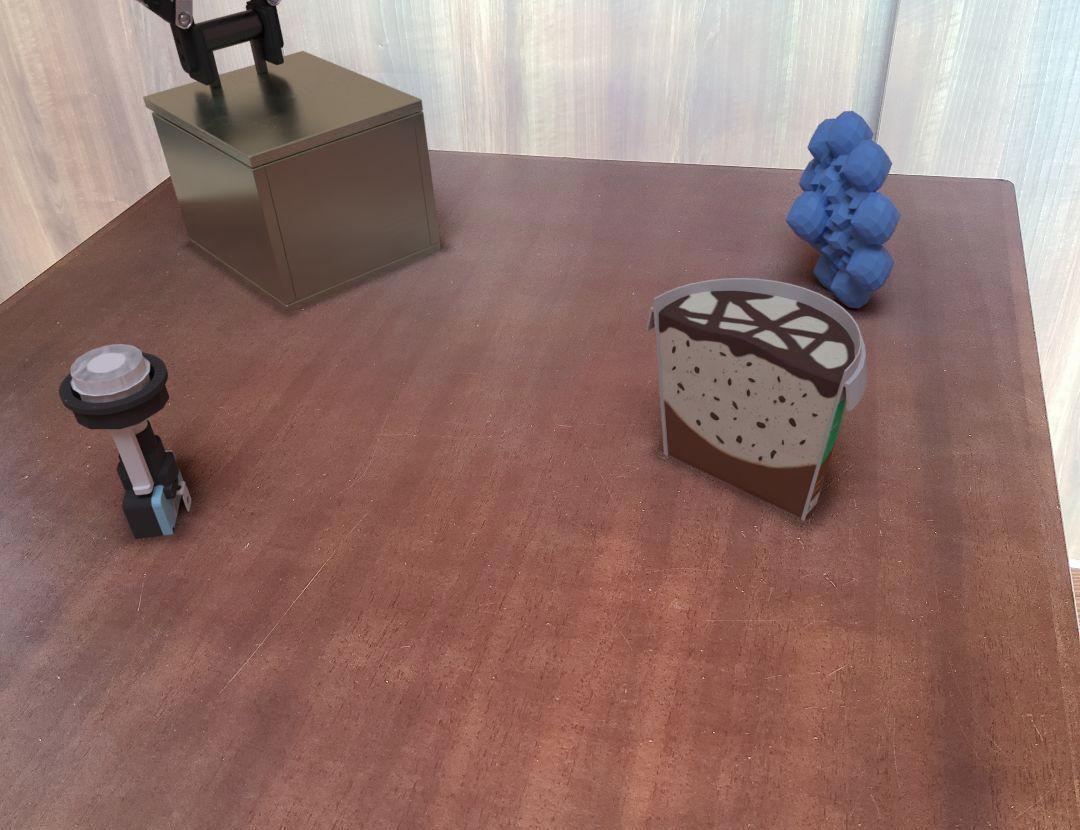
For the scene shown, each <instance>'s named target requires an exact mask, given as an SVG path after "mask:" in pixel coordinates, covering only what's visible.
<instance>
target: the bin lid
mask: <svg viewBox="0 0 1080 830" xmlns="http://www.w3.org/2000/svg"><path fill="white" fill-rule="evenodd" d="M195 25H198V26H200V27H201V28H202V29H203V32H204V36H205V40H206V44H207V48H208V52H209V56H210V60H211V64H212V68H213V72H214V76H215V81H214V83H213V84H211V85H207V86H206V85H204V84H202V83H200V82H198V81H196V80H195V81H193V82H190V83H186V84H182V85H179V86H175V87H172V88H168V89H165V90H161V91H158V92H154V93H151V94H148V95H144V96H143V97H142V99H143V102H144V107H145V108H146V109H149V110H150V111H151V112H155V113H157V114H159V115H161V116H162V117H164V118H166V119H168V120H169V121H171V122H173V123H174V124H176V125H178V126H180V127H181V128H183V129H185V130H187V131H188V132H190V133H192V134H194V135H195V136H197V137H199V138H201V139H202V140H204V141H206V142H208V143H209V144H211V145H213V146H215V147H216V148H218V149H220V150H222V151H223V152H225V153H227V154H229V155H230V156H232V157H234V158H236V159H237V160H239V161H241V162H243V163H244V164H246V165H248V166H249V167H251V168H254V167H257V166H260V165H263V164H266V163H269V162H272V161H275V160H278V159H281V158H284V157H286V156H289V155H292V154H295V153H298V152H301V151H304V150H307V149H310V148H313V147H316V146H319V145H322V144H325V143H328V142H331V141H334V140H337V139H340V138H343V137H346V136H349V135H352V134H354V133H357V132H360V131H363V130H366V129H369V128H372V127H375V126H378V125H381V124H384V123H387V122H390V121H393V120H396V119H399V118H402V117H405V116H408V115H411V114H414V113H417V112H420V111H423V110H424V108H423V107H424V105H423V100H422V98H419V97H417V96H415V95H412V94H409V93H407V92H405V91H402V90H400V89H398V88H395V87H392V86H390V85H388V84H385V83H382V82H380V81H377V80H375V79H373V78H370V77H368V76H365V75H363V74H361V73H358V72H357V71H356V72H355V71H353V70H351V69H349V68H346V67H344V66H341V65H338V64H336V63H333V62H331V61H329V60H326V59H324V58H322V57H320V56H317V55H314V54H311V53H310V52H307V51H304V50H301V51H297V52H293V53H291V54H287V55H283V59H284V63H283V64H280V65H275V64H272V63H270V62H267V61H266V59H265V55H264V50H263V46H262V41H261V38H262V37H263V36H264V34H265V29H264V24H263V21H262V18H261V16H260V14H259V13H258V12H257V10H255V9H250V10H246V9H245V10H243V11H238V12H235V13H231V14H227V15H224V16H220V17H219V16H218V17H215V18H211V19H208V20H204V21H199V22H196V23H195ZM244 43H249V45H250V49H251V53H252V54H251V55H252V58H253V62H254V64H251V65H248V66H245V67H241V68H237V69H235V70H231V71H228V72H224V73H221V74H219V70H218V66H217V62H216V58H215V54H214V52H215V51H216V52H217V51H219V50H222V49H226V48H230V47H234V46H237V45H242V44H244Z"/></svg>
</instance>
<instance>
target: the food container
mask: <svg viewBox="0 0 1080 830" xmlns="http://www.w3.org/2000/svg"><path fill="white" fill-rule="evenodd" d="M652 329H654V336H655V337H654V338H655V351H656V364H657V365H656V366H657V378H658V391H659V392H658V393H659V406H660V408H659V409H660V420H661V422H660V423H661V434H662V435H661V436H662V448H663V449H662V450H663V455H664V456H670V457H672V458H675V459H676V460H679V461H680V462H682V463H685V464H687V465H690V466H691V467H693V468H695V469H698V470H699V471H701V472H703V473H705V474H708V475H710V476H712V477H714V478H716V479H718V480H721V481H722V482H725V483H727V484H729V485H731V486H733V487H736V488H737V489H740V490H741V491H744V492H745V493H748V494H750V495H752V496H754V497H756V498H758V499H760V500H762V501H764V502H766V503H768V504H770V505H773V506H775V507H777V508H779V509H781V510H783V511H785V512H788V513H789V514H792V515H793V516H796V517H798V518H800V520H801V521H803V522H806V521H807V520H808V518H809V517H810V516H811V515H812V514H813V513H814V511H815V510H816V508H817V504H818V501H819V498H820V495H821V491H822V488H823V485H824V481H825V478H826V474H827V472H828V467H829V464H830V461H831V457H832V455H833V452H834V448H835V445H836V441H837V437H838V434H839V431H840V427H841V424H842V422H843V417H844V415H845V411H846V412H851V411H852V410H853V409H854V408H855V407H856V406H857V404H858V403H860V401H861V399H862V397H863V395H864V394H865V391H866V389H867V383H868V370H867V369H868V368H867V353H866V351H867V350H866V343H865V341H864V339H863V336H862V333H861V330H860V326H859V324H858V322H857V321H856V320H855V318H854V317H853V316H852V315H851V314H850V313H849V312H848V310H846V309H845V308H844V307H843V306H842V305H840V304H839V303H837V302H836V301H834V300H833V299H831V298H829V297H827V296H826V295H824V294H822V293H819V292H817V291H814V290H812V289H808V288H806V287H803V286H799V285H796V284H792V283H788V282H783V281H780V280H779V281H778V280H772V279H763V278H752V277H751V278H750V277H749V278H748V277H731V278H716V279H706V280H702V281H697V282H696V281H695V282H692V283H687V284H684V285H681V286H678V287H675V288H672V289H671V290H670V289H669V290H668V291H665V292H663V293H661V294H660V295H657V296H655V297H654V298H653V305H652V306H651V307H649V311H648V315H647V321H646V325H645V331H647V332H648V331H651V330H652Z"/></svg>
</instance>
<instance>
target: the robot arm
mask: <svg viewBox="0 0 1080 830" xmlns="http://www.w3.org/2000/svg"><path fill="white" fill-rule="evenodd" d="M135 1H136V2H137V3H139V4H141V5H142V6H144V7H145V8H146V9H147V10H149V11H151V12H152V13H154V14H155V15H156V16H158V17H159V18H160V19H162V20H163V21H164V22H166V23H168V24H169V26H170V31H171V34H172V38H173V42H174V45H175V49H176V52H177V56H178V59H179V64H180V66H181V69H182V70H183V71H184V72H185V73H186V74H188V76H189V78H190V79H192V80H194V81H195V82H196V81H198V82H200V83H202V84H204V85H206V86H207V85H211V84H213V83H214V81H215V76H214V72H213V68H212V64H211V60H210V56H209V52H208V48H207V44H206V40H205V36H204V32H203V29H202V28H201V27H200V26H198V25H195V24H196V23H195V19H194V13H193V9H194V7H193V4H194V3H193V0H135ZM281 2H282V0H247V1H245V4H246V5H245V11H246V10H250V9H255V10H257V12H258V13H259V14H260V16H261V18H262V21H263V24H264V29H265V34H264V36H263V37H262V38H261V41H262V46H263V50H264V55H265V59H266V61H267V62H270V63H272V64H275V65H280V64H283V63H284V59H283V56H284V54H283V50H282V49H283V48H284V46H285V42H284V37H283V31H282V27H281V22H280V17H279V13H278V8H277V6H278V5H279V4H280V3H281Z"/></svg>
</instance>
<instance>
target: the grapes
mask: <svg viewBox="0 0 1080 830" xmlns="http://www.w3.org/2000/svg"><path fill="white" fill-rule="evenodd" d="M873 137H874V132H873V130H872V128H871V127H870V126H869V124H868V123H867V122H866V120H865V118H864V117H862V116H861V115H860V114H858V113H857V112H855V111H854V110H843V111H842V112H840V114H839V115H837V116H836V117H835V118H825V119H824V120H823V121H821V122H820V123H819V124H818V125H817V127H816V129H815V130H814V132H813V134H812V136H811V137H810V140H809V142H808V145H807V147H806V148H807V150H808V151H809V153H810V155H811V156H812V157H813V158H811V160H809V162H808V163H807V165H806V166H805V168H804V170H803V172H802V174H801V177H800V179H799V181H798V186H799V187H800V189H801V190H802V193H800V194H799V195H798V196H797V197H796V198H795V199H794V201H793V203H792V205H791V207H790V209H789V211H788V213H787V215H786V218H785V222H786V223H787V226H789V228H790V230H792V232H793V233H794V235H796V236H797V237H798V238H800V239H801V240H803V241H804V242H806V243H808V244H809V246H811V247H812V248H813V249H815V250H816V251H818V252H819V253H820V255H819V257H818V259H817V261H816V263H815V266H814V269H813V271H812V273H813V275H814V276H815V277H816V279H817V281H819V283H820V284H821V285H822V286H823V287H824V288H826V289H827V290H828V291H830V292H832V293H833V294H834V295H835V297H836V298H837V299H838V300H839V302H841V303H842V304H843V305H845V306H846V307H847V308H850V309H861V308H862V307H864V306H865V305H867V304H868V302H869V300H870V299H871V298H872V296H873V294H874V292H876V291H878V290H880V289H881V288H882V287H884V285H885V284H886V282H887V281H888V279H889V277H890V275H891V273H892V270H893V267H894V265H895V260H894V259H893V257H892V255H891V254H890V253H889V251H888V250H887V249H886V247H885V246H884V244H886V243H887V242H888V241H890V240H891V238H892V236H893V234H894V233H895V232H896V229H897V227H898V225H899V222H900V218H901V213H900V211H899V209H898V207H897V206H896V205H895V204H894V202H893V201H892V200H891V198H889V197H888V196H887V195H885V194H883V193H882V192H880V191H879V190H880V189H881V188H882V187H883V185H884V183H885V181H886V180H887V178H888V177H889V174H890V171H891V168H892V166H893V162H892V160H891V158H890V157H889V154H888V153H887V152H886V150H884V147H882V146H881V145H880V144H878V143H877V142H876V141H874V140H873ZM877 191H878V192H877Z"/></svg>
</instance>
